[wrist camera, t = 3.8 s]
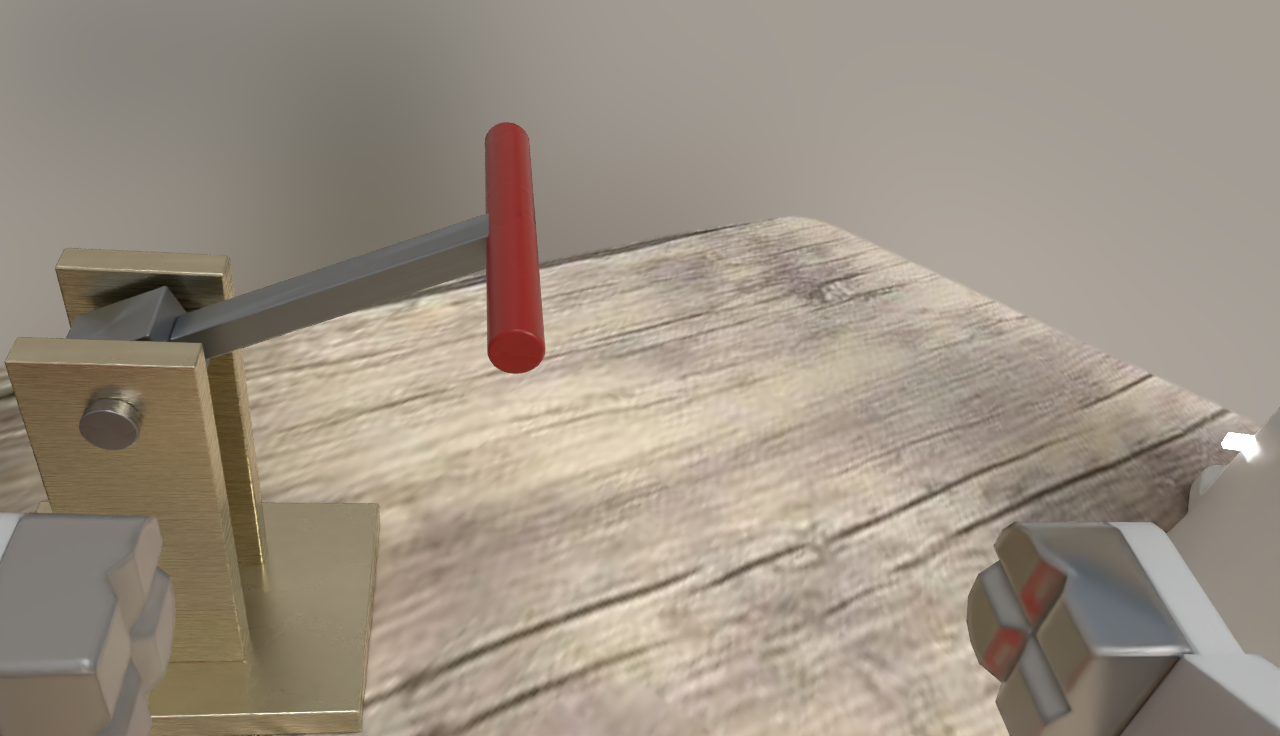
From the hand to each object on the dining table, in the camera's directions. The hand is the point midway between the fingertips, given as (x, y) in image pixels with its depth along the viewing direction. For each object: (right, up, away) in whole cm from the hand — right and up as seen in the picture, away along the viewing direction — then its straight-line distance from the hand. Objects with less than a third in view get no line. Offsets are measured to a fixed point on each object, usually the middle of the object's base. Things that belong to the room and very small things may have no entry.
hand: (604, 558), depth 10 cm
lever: (-8, +3, +19) cm, 21 cm away
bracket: (-15, -7, +26) cm, 31 cm away
